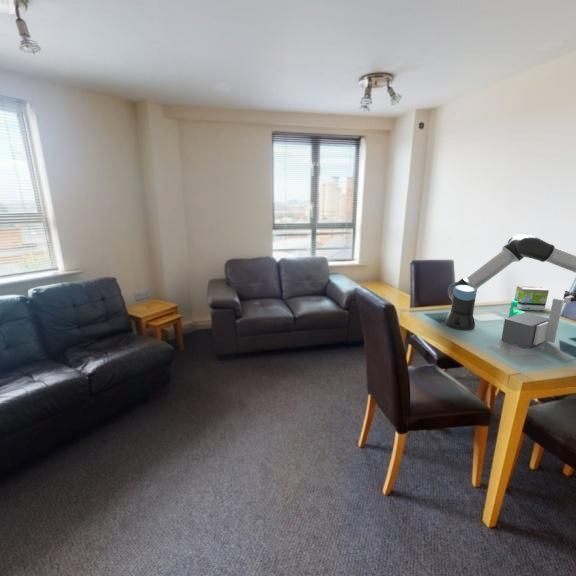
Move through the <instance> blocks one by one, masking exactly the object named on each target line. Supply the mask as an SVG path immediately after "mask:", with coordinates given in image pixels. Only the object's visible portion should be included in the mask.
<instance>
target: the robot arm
mask: <svg viewBox="0 0 576 576" xmlns="http://www.w3.org/2000/svg"><path fill="white" fill-rule="evenodd" d="M524 258H529V259H531V260H536V261H539V262H541V263H544V262H547V263H550V264H552V265H555V266H557V267H560V268H563V269H564V270H567V271H571V272H572V273H576V255H574V254H572V253H570V252H566V251H564V250H561V249H559V248H556V247H555V245H554V244H551V243H548V242H546V241H544V240H543V239H540V238H539V237H537V236H534V235H529V234H527V233H520V234H516V235H513V236H511V237H510V238H509V240H508V241H507V243H506V244H504V246H502V249H501V251H500V252H499V253H497V254H496V255H495V256H494V257H493V258H491V259H490V260H488V261H487V262H486V263H484V264H483V265H482V266H481V267H480V268H478V269H477V270H475V271H474V272H473V273H472V274H470V275H469V276H468V277H462V278H461V279H459V280H458V281H455V282H452V283H451V284H450V285H449V286H448V287H447V288H448V289H447V296H448V298H449V299H450V300H451V307H450V308H451V309H450V312H449V314H448V315H447V316H448V317H447V318H446V321H445V324H446V326H448V327H450V328H452V329H456V330H462V331H471V330H474V329H475V328H476V322H475V318H474V317H475V316H474V311H475V305H476V303H475V302H476V297H477V293H478V289H479V288H481V286H483V285H485V284H486V283H487V282H488V281H490V280H491V279H492V278H493V277H495V276H497V275H498V274H499V273H500V272H502V271H503V270H504V269H506V268H508V266H510V265H511V264H512V263H514V262H520V261H521V260H523V259H524ZM563 294H564V295H563V299H562V300H563V304H570V303H572V302H576V289H575V290H574V291H571V292H570V291H568V290H564V293H563Z"/></svg>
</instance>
